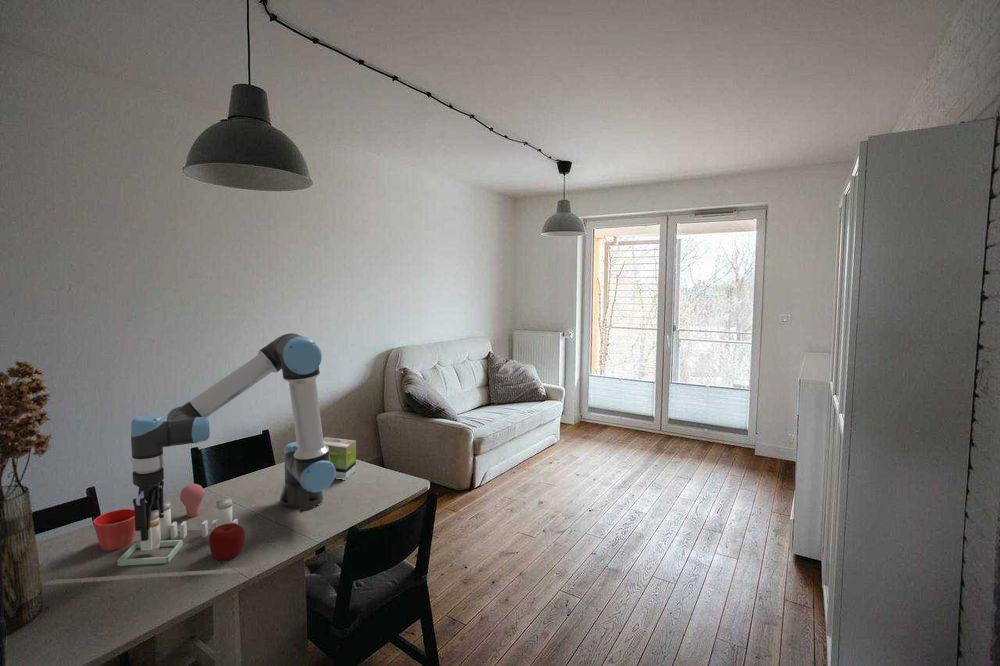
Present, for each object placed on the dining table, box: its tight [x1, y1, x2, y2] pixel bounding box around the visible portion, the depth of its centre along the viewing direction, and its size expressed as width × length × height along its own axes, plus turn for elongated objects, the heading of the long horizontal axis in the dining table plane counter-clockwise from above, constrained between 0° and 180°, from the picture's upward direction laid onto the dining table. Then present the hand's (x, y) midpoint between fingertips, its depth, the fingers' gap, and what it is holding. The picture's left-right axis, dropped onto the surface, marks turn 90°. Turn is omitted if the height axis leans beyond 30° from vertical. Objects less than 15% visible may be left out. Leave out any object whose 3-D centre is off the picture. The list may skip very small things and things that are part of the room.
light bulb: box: [179, 483, 205, 518], centre depth 176 cm, size 7×7×12 cm
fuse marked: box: [141, 510, 161, 554], centre depth 151 cm, size 5×5×11 cm
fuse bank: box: [165, 518, 239, 544], centre depth 163 cm, size 27×8×6 cm, turn 101°
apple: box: [208, 523, 246, 561], centre depth 153 cm, size 10×10×10 cm
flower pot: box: [92, 508, 136, 551], centre depth 157 cm, size 11×11×10 cm
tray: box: [116, 540, 184, 567], centre depth 152 cm, size 13×10×2 cm
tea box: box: [323, 436, 357, 478], centre depth 218 cm, size 15×10×15 cm
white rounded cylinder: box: [215, 498, 234, 527], centre depth 164 cm, size 4×4×11 cm
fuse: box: [159, 500, 172, 541], centre depth 161 cm, size 4×4×11 cm
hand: (151, 544), depth 152 cm, fingers closed on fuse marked, 4 cm apart
